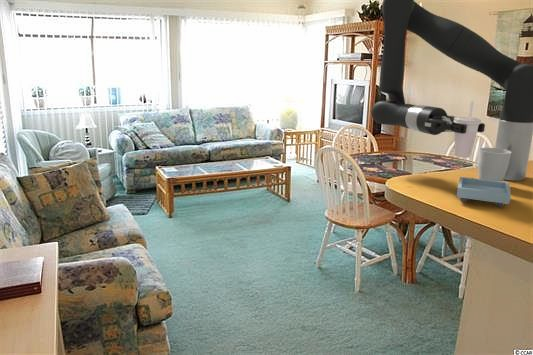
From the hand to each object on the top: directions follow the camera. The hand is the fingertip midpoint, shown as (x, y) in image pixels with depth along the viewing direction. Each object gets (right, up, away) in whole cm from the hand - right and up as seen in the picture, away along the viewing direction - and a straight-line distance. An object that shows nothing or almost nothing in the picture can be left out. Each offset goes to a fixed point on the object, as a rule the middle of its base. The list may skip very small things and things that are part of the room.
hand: (474, 128), depth 111 cm
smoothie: (-1, -7, +4) cm, 8 cm away
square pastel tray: (+3, -18, +2) cm, 18 cm away
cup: (+12, -14, +16) cm, 25 cm away
